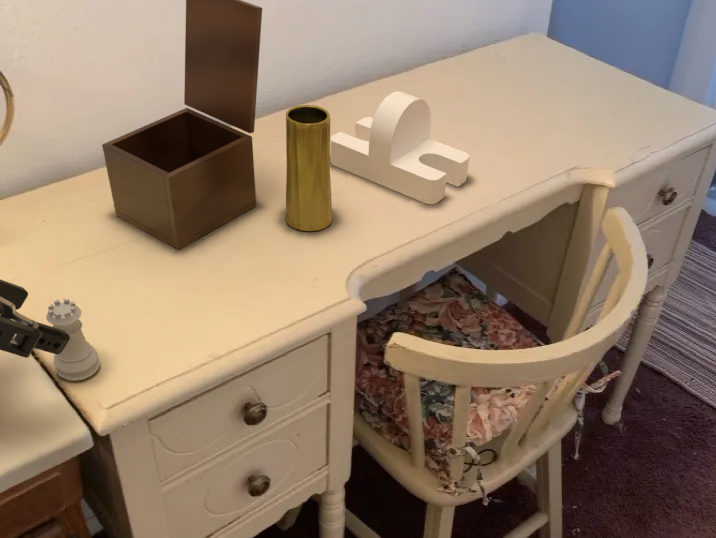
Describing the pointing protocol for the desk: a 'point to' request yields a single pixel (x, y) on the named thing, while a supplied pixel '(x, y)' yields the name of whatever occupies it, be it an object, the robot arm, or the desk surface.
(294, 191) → the vase
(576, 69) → the desk surface
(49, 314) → the rook chess piece
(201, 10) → the lid
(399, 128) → the u-slot stand
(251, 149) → the chest
